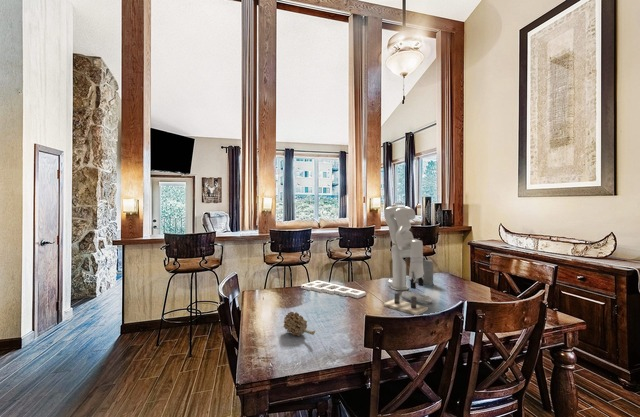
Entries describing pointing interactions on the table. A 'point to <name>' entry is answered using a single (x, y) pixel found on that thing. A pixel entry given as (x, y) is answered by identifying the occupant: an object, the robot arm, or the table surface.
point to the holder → (339, 289)
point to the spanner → (417, 297)
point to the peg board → (405, 305)
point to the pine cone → (296, 324)
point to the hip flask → (427, 272)
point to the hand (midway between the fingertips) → (417, 287)
